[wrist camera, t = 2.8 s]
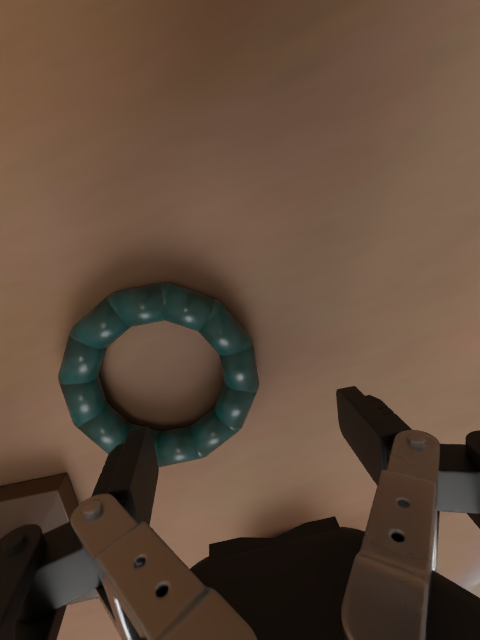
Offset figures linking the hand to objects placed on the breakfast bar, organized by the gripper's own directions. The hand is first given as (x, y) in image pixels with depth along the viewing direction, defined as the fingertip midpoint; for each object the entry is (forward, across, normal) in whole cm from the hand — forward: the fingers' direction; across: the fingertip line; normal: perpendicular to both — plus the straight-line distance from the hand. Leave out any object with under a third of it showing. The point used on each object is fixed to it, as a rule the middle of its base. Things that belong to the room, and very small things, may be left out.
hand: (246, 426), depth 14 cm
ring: (+6, +4, 0) cm, 7 cm away
